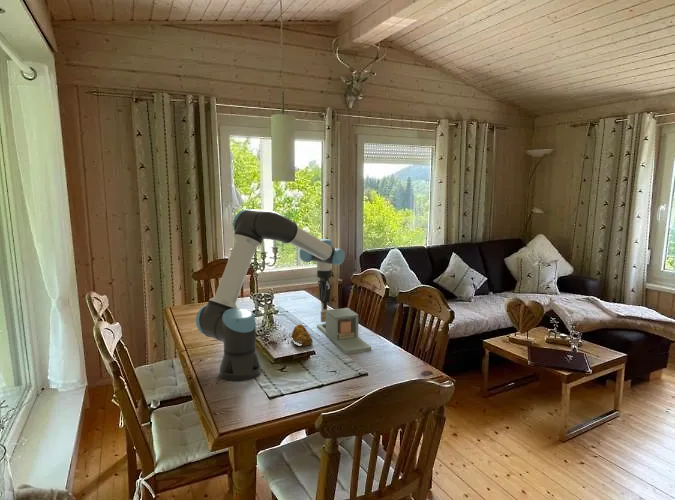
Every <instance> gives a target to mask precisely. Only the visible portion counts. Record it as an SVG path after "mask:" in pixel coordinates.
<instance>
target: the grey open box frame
mask: <svg viewBox="0 0 675 500" xmlns="http://www.w3.org/2000/svg"><path fill="white" fill-rule="evenodd" d="M320 322H321V323H326V311H320ZM350 337H354V332H348V333H340V334H339V333H337V338H338V339H343V338H350Z"/></svg>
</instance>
